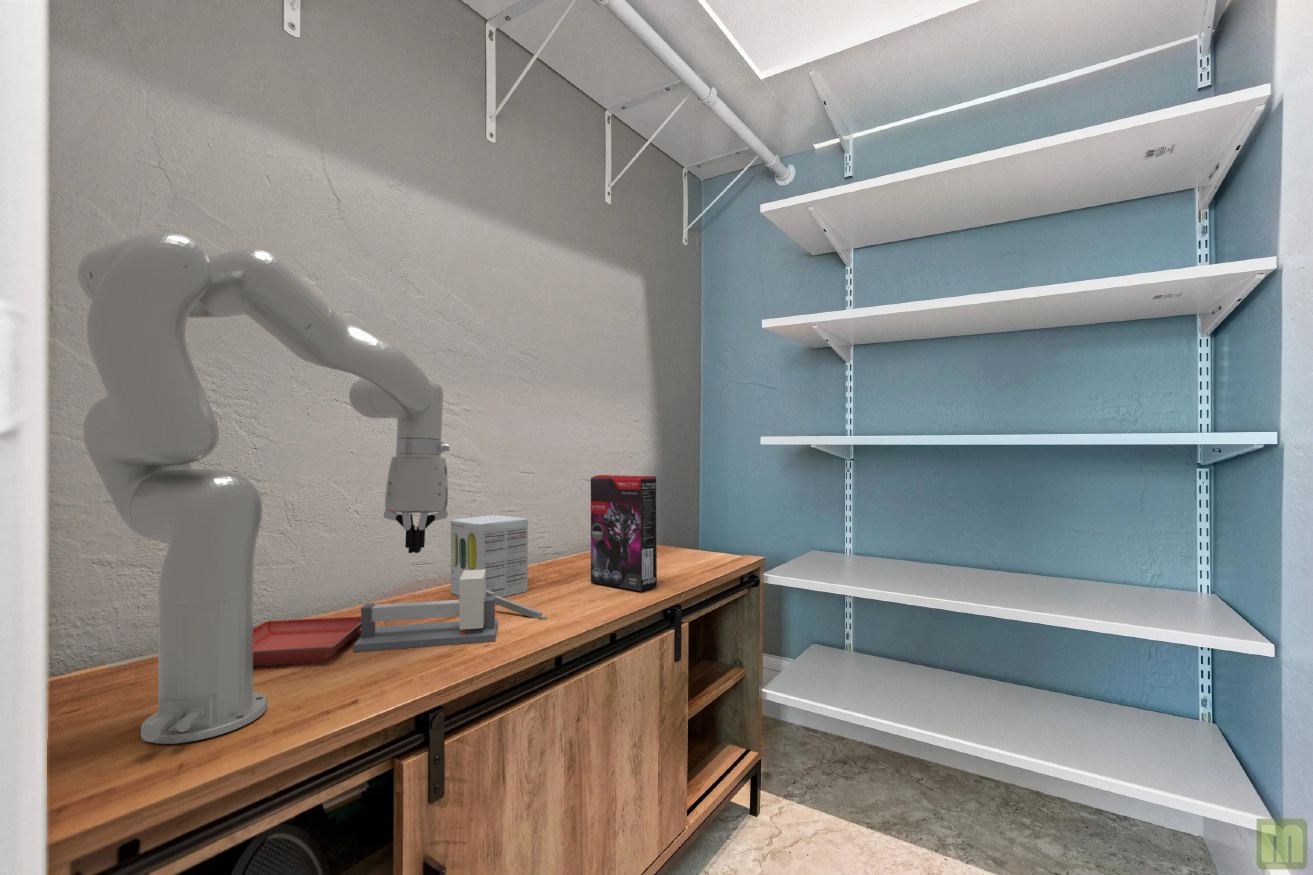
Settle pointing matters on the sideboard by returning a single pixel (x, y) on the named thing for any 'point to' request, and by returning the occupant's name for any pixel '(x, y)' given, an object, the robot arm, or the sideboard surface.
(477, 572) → the white sliding block
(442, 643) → the gray slide rail base
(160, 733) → the robot arm
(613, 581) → the graphics card box
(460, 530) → the supplement box
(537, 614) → the caliper
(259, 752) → the sideboard surface
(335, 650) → the plant saucer
